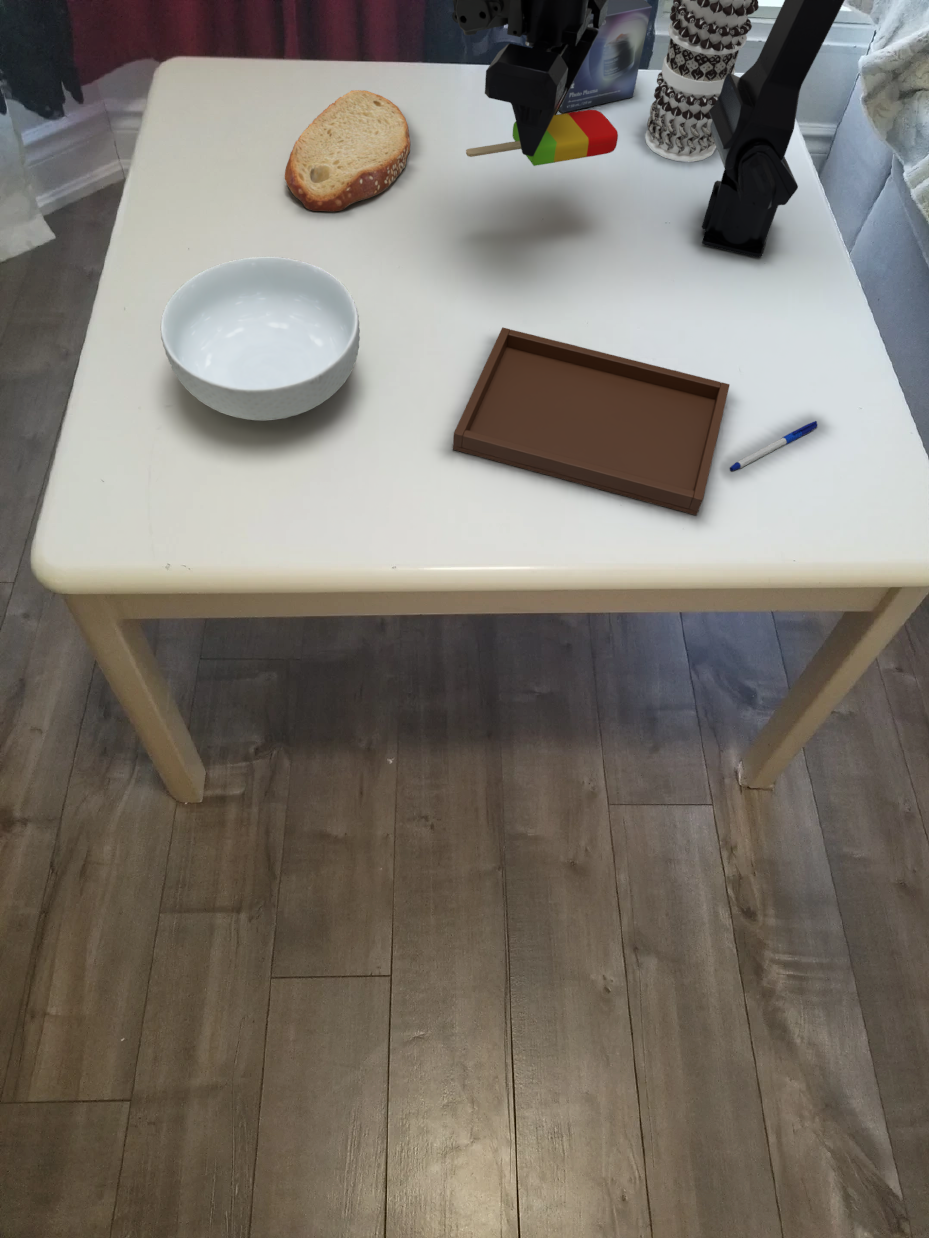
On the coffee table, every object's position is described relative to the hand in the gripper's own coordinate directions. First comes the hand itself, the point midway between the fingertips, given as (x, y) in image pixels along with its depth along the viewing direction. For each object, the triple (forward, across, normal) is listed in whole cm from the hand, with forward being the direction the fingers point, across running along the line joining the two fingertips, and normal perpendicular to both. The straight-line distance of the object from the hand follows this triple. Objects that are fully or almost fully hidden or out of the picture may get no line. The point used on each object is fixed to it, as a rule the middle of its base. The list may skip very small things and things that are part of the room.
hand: (539, 134), depth 88 cm
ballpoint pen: (+11, +21, +29) cm, 38 cm away
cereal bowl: (+11, +30, -15) cm, 35 cm away
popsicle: (+2, 0, 0) cm, 2 cm away
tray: (+11, +24, +14) cm, 30 cm away
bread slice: (+11, -6, -23) cm, 26 cm away
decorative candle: (+11, -25, +11) cm, 29 cm away
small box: (+11, -30, -2) cm, 32 cm away
